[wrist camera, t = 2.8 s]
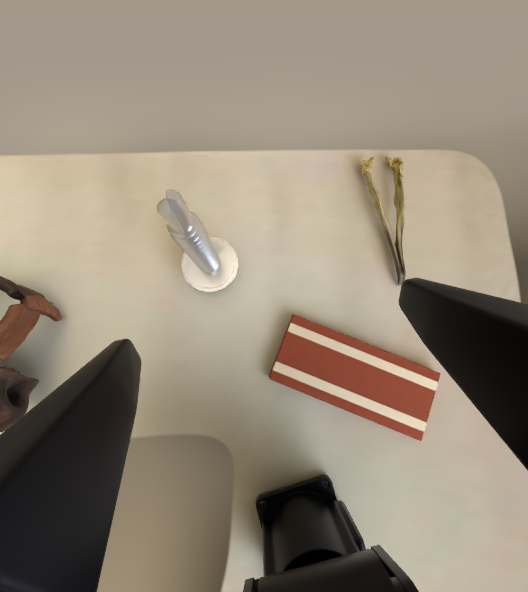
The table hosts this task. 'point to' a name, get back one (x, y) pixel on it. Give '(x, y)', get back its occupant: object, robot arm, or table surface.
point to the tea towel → (355, 377)
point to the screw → (198, 247)
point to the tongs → (400, 208)
